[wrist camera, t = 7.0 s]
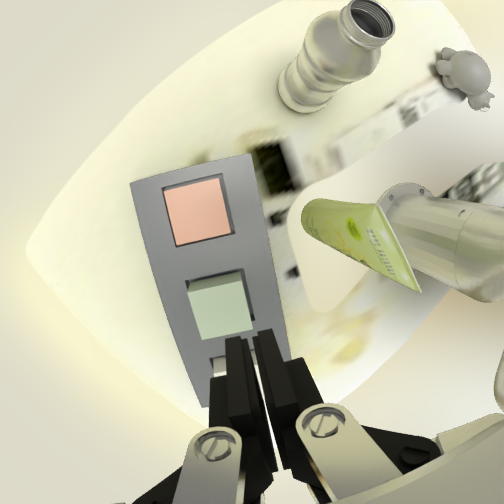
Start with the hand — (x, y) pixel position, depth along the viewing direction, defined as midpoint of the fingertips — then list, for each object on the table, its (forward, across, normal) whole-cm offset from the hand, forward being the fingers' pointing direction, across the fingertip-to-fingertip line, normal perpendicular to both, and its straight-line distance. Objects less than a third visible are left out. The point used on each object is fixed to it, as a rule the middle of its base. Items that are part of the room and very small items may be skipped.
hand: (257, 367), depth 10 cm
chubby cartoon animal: (+27, -40, -17) cm, 51 cm away
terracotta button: (+27, +3, -4) cm, 27 cm away
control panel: (+27, +3, +7) cm, 28 cm away
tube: (+27, -11, 0) cm, 29 cm away
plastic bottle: (+27, -12, -16) cm, 34 cm away
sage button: (+25, +3, +7) cm, 26 cm away
